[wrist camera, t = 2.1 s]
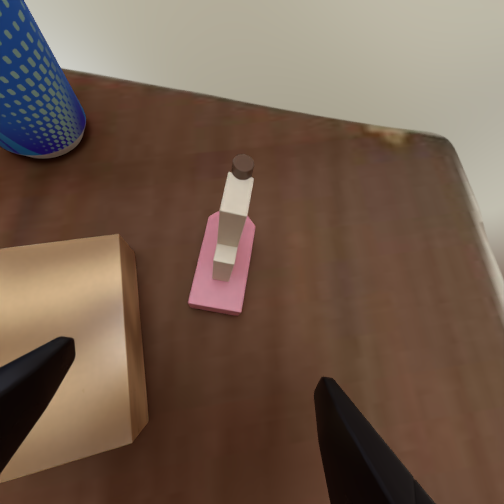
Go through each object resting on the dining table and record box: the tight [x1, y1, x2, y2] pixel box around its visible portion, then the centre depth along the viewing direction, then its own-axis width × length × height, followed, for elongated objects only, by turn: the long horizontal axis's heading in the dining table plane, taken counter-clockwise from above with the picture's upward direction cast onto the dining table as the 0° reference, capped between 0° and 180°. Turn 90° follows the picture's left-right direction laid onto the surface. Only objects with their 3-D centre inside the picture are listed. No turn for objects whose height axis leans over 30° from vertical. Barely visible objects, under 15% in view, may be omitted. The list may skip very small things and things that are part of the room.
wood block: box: [0, 234, 149, 483], centre depth 18 cm, size 14×9×4 cm, turn 13°
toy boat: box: [188, 154, 255, 316], centre depth 18 cm, size 10×4×13 cm, turn 171°
